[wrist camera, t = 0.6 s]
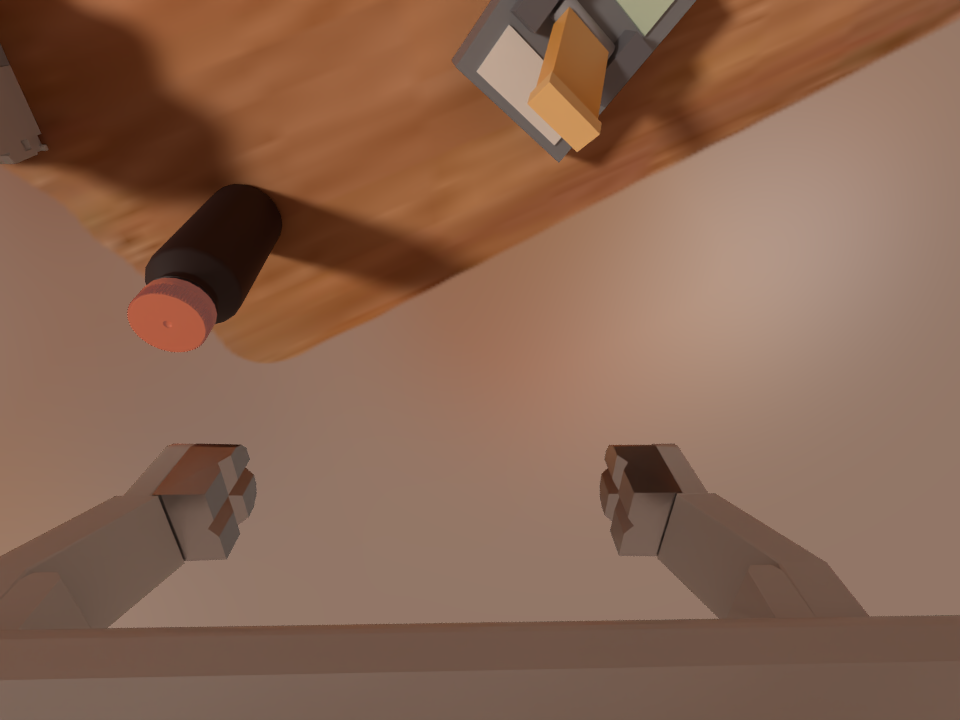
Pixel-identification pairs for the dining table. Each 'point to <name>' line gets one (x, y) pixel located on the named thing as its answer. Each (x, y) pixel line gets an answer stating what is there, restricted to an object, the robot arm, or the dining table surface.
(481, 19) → the panel
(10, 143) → the circuit breaker
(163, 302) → the bottle
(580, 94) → the lever
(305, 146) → the dining table surface
